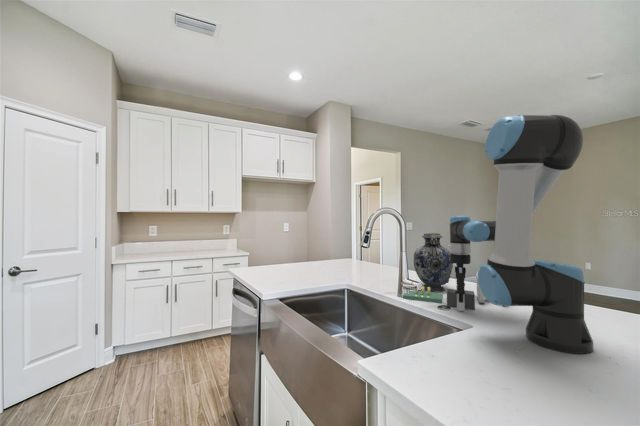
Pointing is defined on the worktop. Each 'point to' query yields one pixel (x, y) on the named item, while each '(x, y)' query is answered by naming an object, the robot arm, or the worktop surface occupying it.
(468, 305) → the plug housing
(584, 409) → the worktop surface
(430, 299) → the header board
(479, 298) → the cable organizer
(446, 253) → the decorative vase
